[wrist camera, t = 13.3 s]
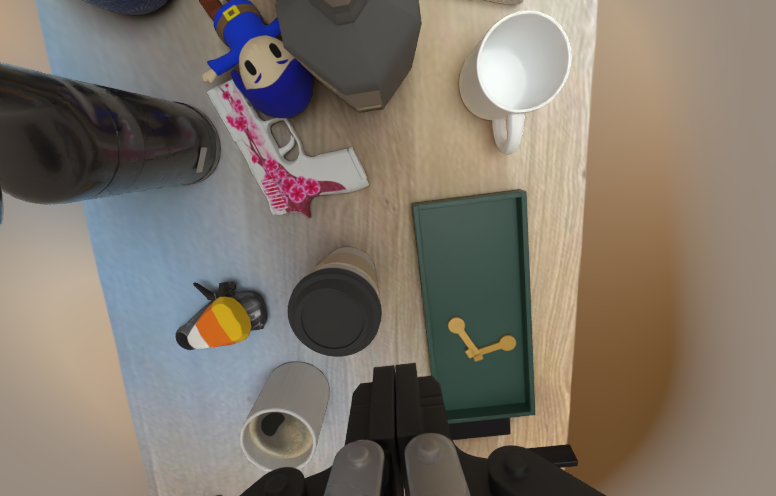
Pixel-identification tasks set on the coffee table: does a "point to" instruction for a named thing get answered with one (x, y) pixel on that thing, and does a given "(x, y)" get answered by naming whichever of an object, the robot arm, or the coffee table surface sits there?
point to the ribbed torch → (246, 299)
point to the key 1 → (462, 335)
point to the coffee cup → (337, 304)
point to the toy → (258, 60)
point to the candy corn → (220, 325)
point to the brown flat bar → (507, 1)
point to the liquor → (353, 45)
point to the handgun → (269, 167)
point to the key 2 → (497, 346)
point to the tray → (478, 301)
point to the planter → (129, 5)
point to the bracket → (480, 428)
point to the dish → (557, 455)
